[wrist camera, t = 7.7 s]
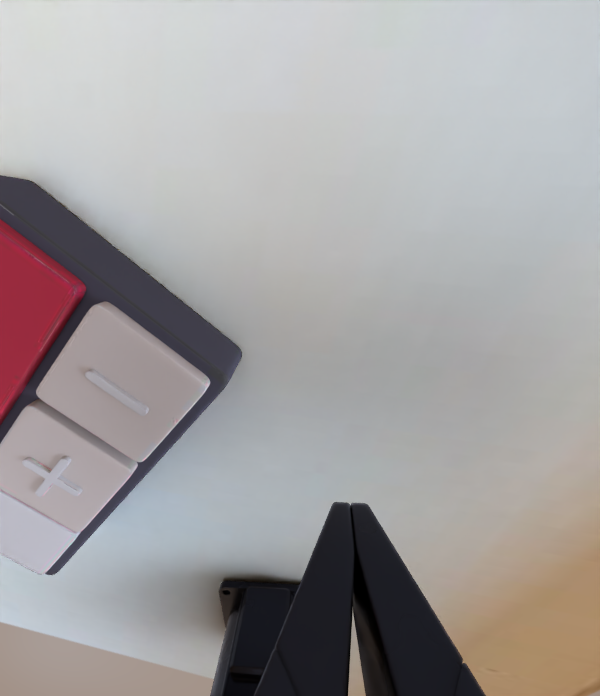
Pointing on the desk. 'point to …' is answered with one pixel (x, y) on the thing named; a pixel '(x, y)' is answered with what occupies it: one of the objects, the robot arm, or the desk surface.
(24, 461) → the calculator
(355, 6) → the desk surface
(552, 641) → the desk surface
